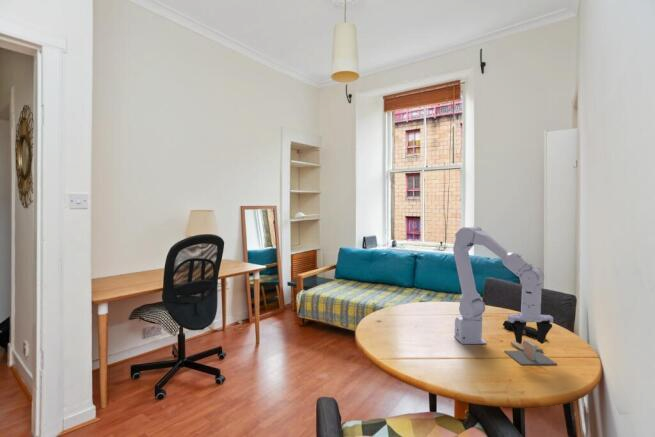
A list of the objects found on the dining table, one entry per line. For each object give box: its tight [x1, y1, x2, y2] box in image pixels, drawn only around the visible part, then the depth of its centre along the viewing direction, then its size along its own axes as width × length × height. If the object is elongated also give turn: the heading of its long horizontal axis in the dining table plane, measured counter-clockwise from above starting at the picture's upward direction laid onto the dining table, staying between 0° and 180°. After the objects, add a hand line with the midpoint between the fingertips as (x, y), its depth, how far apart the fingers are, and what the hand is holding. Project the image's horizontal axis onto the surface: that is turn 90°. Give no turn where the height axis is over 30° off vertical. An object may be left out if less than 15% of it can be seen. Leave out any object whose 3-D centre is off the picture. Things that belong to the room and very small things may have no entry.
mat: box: [503, 350, 558, 366], centre depth 115 cm, size 12×10×1 cm
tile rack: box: [510, 340, 544, 353], centre depth 123 cm, size 8×7×1 cm
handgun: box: [502, 320, 547, 339], centre depth 140 cm, size 3×17×12 cm
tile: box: [523, 339, 537, 360], centre depth 115 cm, size 1×5×5 cm, turn 1°
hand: (529, 342), depth 115 cm, fingers open, 7 cm apart
